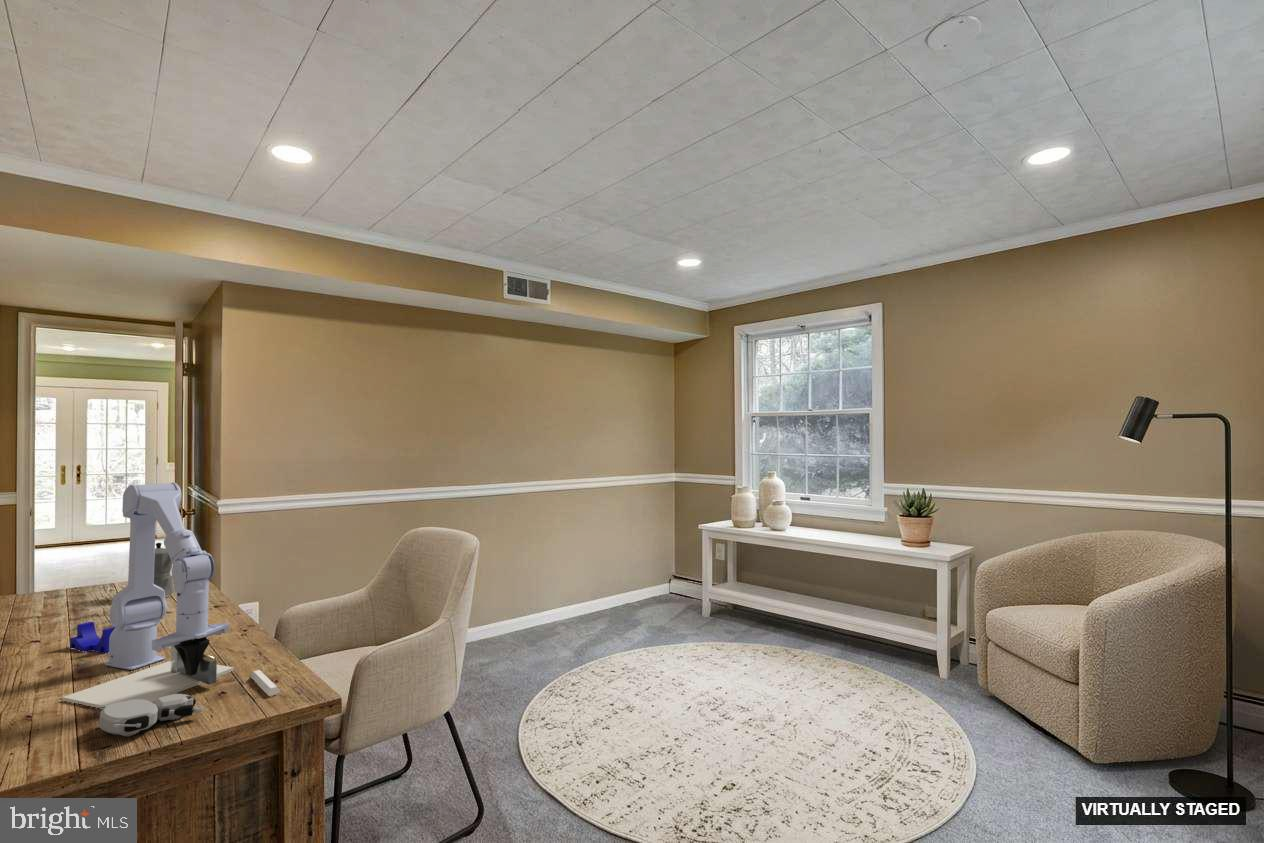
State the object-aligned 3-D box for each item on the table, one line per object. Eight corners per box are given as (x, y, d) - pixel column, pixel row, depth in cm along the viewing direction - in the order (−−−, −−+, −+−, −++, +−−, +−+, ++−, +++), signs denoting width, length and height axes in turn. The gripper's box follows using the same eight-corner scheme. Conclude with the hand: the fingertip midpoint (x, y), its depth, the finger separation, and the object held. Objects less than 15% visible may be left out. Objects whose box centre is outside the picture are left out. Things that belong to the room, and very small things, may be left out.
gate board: (62, 701, 131) (62, 697, 131) (178, 661, 153) (178, 658, 153) (122, 714, 125) (122, 709, 125) (233, 670, 148) (233, 667, 148)
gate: (208, 684, 137) (209, 658, 137) (177, 671, 144) (177, 646, 144) (216, 682, 138) (216, 656, 138) (184, 669, 145) (184, 645, 145)
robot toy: (183, 707, 130) (89, 728, 119) (185, 684, 131) (92, 703, 119) (205, 724, 123) (107, 748, 111) (207, 700, 123) (110, 722, 112)
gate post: (168, 675, 144) (168, 644, 145) (178, 672, 147) (179, 641, 147) (175, 677, 144) (176, 646, 144) (186, 673, 146) (186, 642, 146)
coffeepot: (126, 600, 208) (127, 545, 208) (146, 593, 217) (147, 540, 217) (176, 599, 209) (177, 545, 209) (193, 592, 218) (194, 540, 219)
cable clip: (69, 650, 162) (70, 626, 162) (90, 644, 166) (90, 621, 166) (98, 656, 157) (99, 632, 157) (119, 650, 161) (119, 626, 161)
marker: (253, 679, 145) (275, 699, 134) (244, 676, 144) (265, 697, 133) (260, 667, 146) (282, 687, 135) (251, 665, 145) (272, 684, 134)
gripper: (164, 622, 130) (163, 689, 129) (237, 605, 142) (236, 666, 142) (147, 617, 133) (145, 682, 133) (219, 601, 146) (218, 661, 146)
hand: (191, 674), depth 138 cm, fingers closed
